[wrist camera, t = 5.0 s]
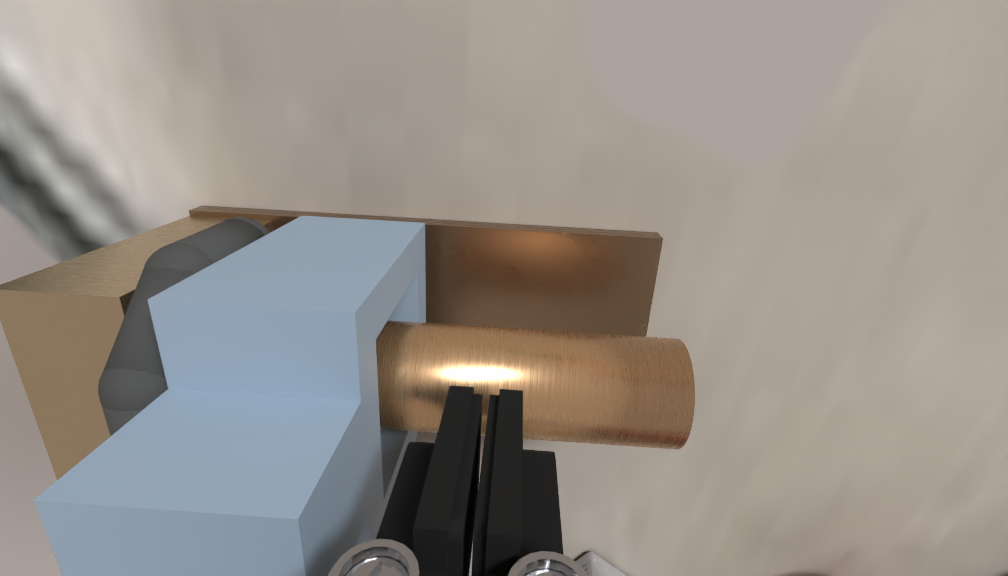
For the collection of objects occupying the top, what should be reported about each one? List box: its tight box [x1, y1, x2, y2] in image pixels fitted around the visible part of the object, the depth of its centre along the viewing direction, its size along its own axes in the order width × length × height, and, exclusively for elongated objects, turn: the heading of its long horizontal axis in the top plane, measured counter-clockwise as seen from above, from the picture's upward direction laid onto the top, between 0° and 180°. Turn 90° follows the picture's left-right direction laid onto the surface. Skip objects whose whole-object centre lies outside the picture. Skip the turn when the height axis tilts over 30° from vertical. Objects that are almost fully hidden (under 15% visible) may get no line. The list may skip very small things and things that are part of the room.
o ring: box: [98, 217, 270, 436], centre depth 14 cm, size 2×8×8 cm, turn 177°
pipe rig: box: [0, 206, 695, 480], centre depth 16 cm, size 17×6×8 cm, turn 87°
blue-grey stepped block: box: [34, 216, 426, 576], centre depth 13 cm, size 4×7×10 cm, turn 177°
